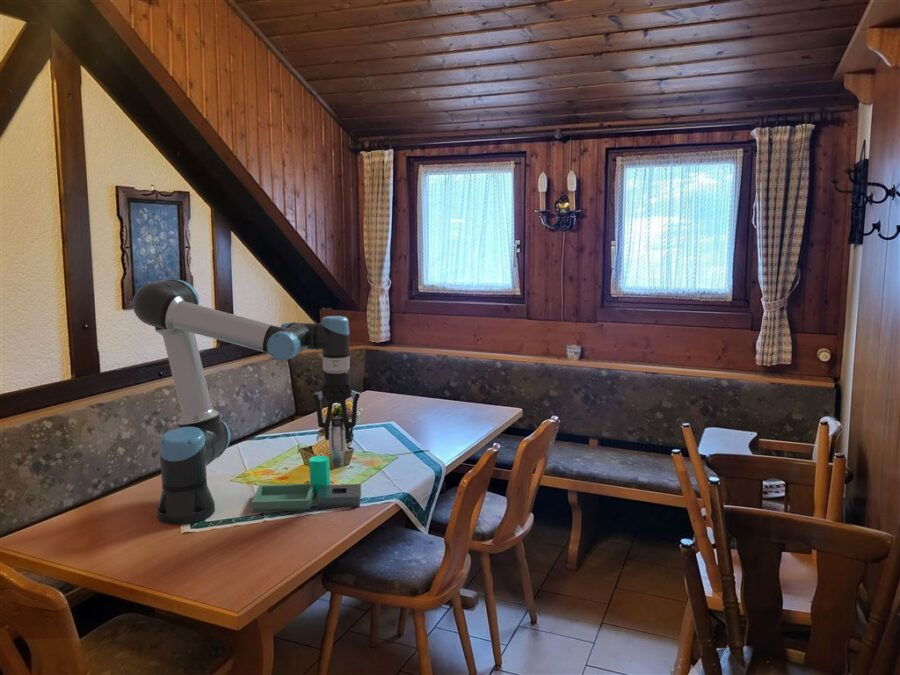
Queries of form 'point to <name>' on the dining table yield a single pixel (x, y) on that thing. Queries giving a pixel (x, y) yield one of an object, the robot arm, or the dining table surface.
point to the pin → (337, 442)
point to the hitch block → (339, 496)
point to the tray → (283, 498)
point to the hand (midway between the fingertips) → (337, 450)
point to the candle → (319, 472)
